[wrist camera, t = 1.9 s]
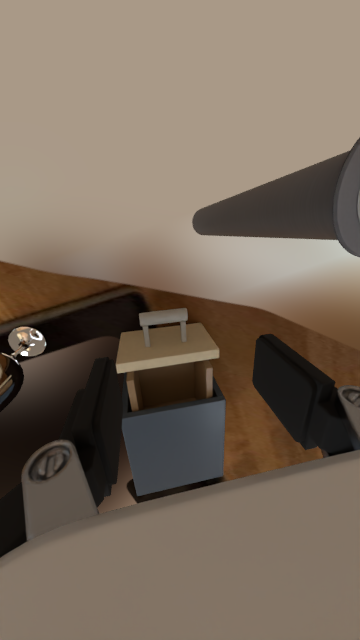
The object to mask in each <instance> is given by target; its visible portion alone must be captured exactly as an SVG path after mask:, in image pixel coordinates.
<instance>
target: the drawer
mask: <svg viewBox="0 0 360 640" xmlns="http://www.w3.org/2000/svg"><path fill="white" fill-rule="evenodd" d="M139 319H140V325H141V326H143V330H139V331H131V332H123V333H121V337H120V343H119V349H118V355H117V361H116V367H117V372H118V373H124V372H127V379H126V382H127V388H128V393H129V398H130V403H131V408H132V412H135V411H140V410H146V409H151V408H157V407H162V406H168V405H174V404H179V403H185V402H190V401H196V400H201V399H207V398H212V397H213V367H212V365H211V364H210V362H209V360H208V359H215V358H219V348H218V347H217V345H216V344H215V342H214V341H213V340H212V338H211V337H210V335H209V334H208V332H207V331H206V329H205V328H204V327H203V325H202V324H201V323H194V324H186V321H187V320H188V313H187V309H186V308H180V309H171V310H162V311H154V312H145V313H139ZM172 322H180V325H178V326H170V327H162V328H155V329H148V325H155V324H163V323H172Z"/></svg>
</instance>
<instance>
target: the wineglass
mask: <svg viewBox="0 0 360 640" xmlns="http://www.w3.org/2000/svg"><path fill="white" fill-rule="evenodd" d="M8 342H9V345H10V347H11V348H12V349H13V350H14V351H15V352H14V353H12V354H10V355H6V354H3V353H0V412H1V411H2V410H3V409H4V408H5V407H6V406H7V405H8V404H9V403H10V402H11V401H12V400H13V399H14V398H15V397H16V395H17V394H18V392H19V391H20V389H21V386H22V384H23V380H24V375H23V369H22V368H21V365H20V364H19V363H18V362H17V361H16V360H15V358H16V356H17V355H18V354H20V355H24V356H36V355H38V354H40V353H42V352H43V351H44V349H45V347H46V339H45V337H44V336H43V334H42V333H41V332H39V331H38V330H36V329H34V328H31V327H18V328H16V329H14V330H12V331H11V333H10V334H9V337H8Z"/></svg>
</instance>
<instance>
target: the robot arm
mask: <svg viewBox="0 0 360 640" xmlns="http://www.w3.org/2000/svg"><path fill="white" fill-rule="evenodd" d="M357 210H358V217H359V221H360V190H359V194H358V203H357ZM334 384H335V381H334V380H332V379H331V378H330V377H328V376H327V375H326V374H324V373H323V372H322V371H320V370H319V369H318V368H316V367H315V366H314V365H312V364H311V363H310V362H309V361H307V360H306V359H305V358H303V357H302V356H301V355H299V354H298V353H297V352H295V351H294V350H293V349H291V348H290V347H289V346H287V345H286V344H285V343H283V342H282V341H281V340H279V339H278V338H277V337H275V336H274V335H273V334H266V335H261V336H260V337H259V338H258V339H257V340H256V348H255V359H254V370H253V385H254V387H255V388H256V390H257V391H258V392H259V394H260V395H261V396H262V397H263V399H264V400H265V401H266V403H267V404H268V405H269V407H270V408H271V409H272V411H273V412H274V413H275V415H276V416H277V417H278V419H279V420H280V421H281V423H282V424H283V425H284V427H285V428H286V429H287V431H288V432H289V433H290V435H291V436H292V437H293V439H294V440H295V441H296V442H300V444H301V445H302V446H303V448H304V449H305V450H307V449H312V448H316V447H317V446H318V447H319V448H320V449H321V451H322V455H323V458H322V459H318V460H313V461H309V462H305V463H301V464H297V465H292V466H288V467H284V468H280V469H276V470H272V471H268V472H263V473H259V474H255V475H251V476H247V477H243V478H239V479H235V480H231V481H226V482H222V483H218V484H214V485H210V486H206V487H202V488H198V489H194V490H190V491H186V492H182V493H178V494H174V495H170V496H166V497H162V498H158V499H154V500H150V501H146V502H142V503H138V504H135V505H131V506H128V507H124V508H120V509H116V510H112V511H109V512H105V513H102V514H99V512H98V509H97V507H98V506H99V505H100V504H101V502H102V501H103V500H104V497H106V496H110V495H111V486H112V484H116V482H117V475H118V462H119V452H120V439H121V429H122V417H123V402H122V397H121V393H120V388H119V383H118V379H117V374H116V369H115V365H114V361H113V360H109V358H108V357H105V358H98V359H95V362H94V365H93V368H92V371H91V373H90V376H89V379H88V382H87V385H86V388H85V389H81V390H78V391H77V393H76V396H75V398H74V401H73V404H72V406H71V409H70V411H69V414H68V416H67V419H66V422H65V424H64V427H63V430H62V432H61V435H60V437H59V440H57V441H53V442H51V443H49V444H46V445H45V446H43V447H42V448H40V449H39V450H37V452H35V453H34V454H33V455H32V456H31V457H30V459H29V460H28V461H27V462H26V464H25V466H24V469H23V471H22V482H21V483H20V484H18V485H17V486H16V487H15V488H14V489H12V490H11V491H10V492H9V493H7V494H6V495H5V496H4V497H2V498H1V499H0V640H360V387H357V386H349V385H346V386H341V387H340V388H339V389H337V388H336V387H334Z"/></svg>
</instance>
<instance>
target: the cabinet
mask: <svg viewBox="0 0 360 640" xmlns="http://www.w3.org/2000/svg"><path fill="white" fill-rule="evenodd" d="M126 379H127V372H125V373H124V383H123V393H122V402H123V417H122V431H123V435H124V440H125V444H126V448H127V453H128V457H129V462H130V466H131V470H132V475H133V479H134V484H135V488H136V492H137V496H140V495H144V494H148V493H152V492H157V491H161V490H165V489H169V488H173V487H178V486H182V485H186V484H190V483H195V482H199V481H203V480H207V479H211V478H216V477H220V476H223V462H224V433H225V405H226V400H225V398H224V396H223V394H222V392H221V390H220V388H219V386H218V384H217V383H216V381H215V379H214V377H213V397H212V398H207V399H201V400H196V401H190V402H185V403H179V404H174V405H168V406H162V407H157V408H151V409H146V410H140V411H135V412H132V408H131V403H130V398H129V393H128V388H127V382H126Z"/></svg>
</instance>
